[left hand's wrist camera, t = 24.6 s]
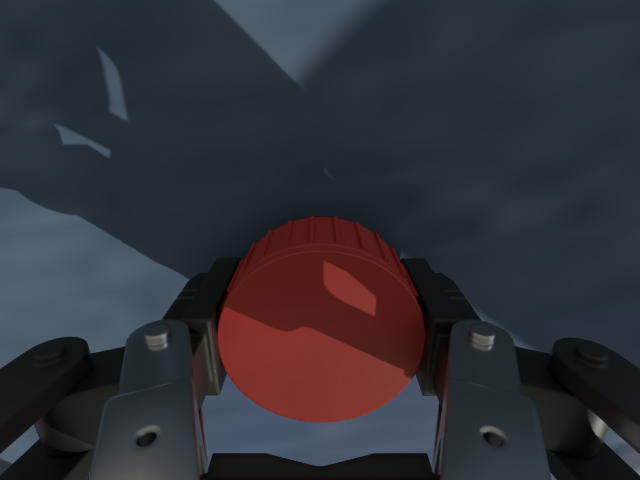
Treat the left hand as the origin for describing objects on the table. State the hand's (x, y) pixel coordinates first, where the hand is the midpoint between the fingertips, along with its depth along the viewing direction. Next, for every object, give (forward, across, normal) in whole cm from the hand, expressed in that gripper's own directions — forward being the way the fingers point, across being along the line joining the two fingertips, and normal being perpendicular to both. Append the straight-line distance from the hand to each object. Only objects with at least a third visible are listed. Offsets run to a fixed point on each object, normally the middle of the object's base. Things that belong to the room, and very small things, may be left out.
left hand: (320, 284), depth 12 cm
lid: (-3, 0, 0) cm, 3 cm away
